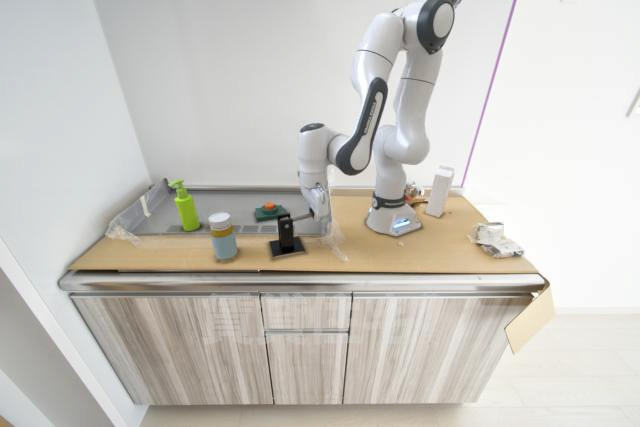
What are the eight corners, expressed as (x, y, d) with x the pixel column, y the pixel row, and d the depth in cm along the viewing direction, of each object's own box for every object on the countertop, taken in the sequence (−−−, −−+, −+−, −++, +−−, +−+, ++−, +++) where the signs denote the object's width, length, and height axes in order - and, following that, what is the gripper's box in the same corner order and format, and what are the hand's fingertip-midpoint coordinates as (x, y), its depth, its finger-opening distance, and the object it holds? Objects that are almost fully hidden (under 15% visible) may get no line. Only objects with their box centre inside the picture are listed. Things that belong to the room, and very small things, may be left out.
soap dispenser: (178, 230, 95) (163, 182, 85) (192, 222, 100) (179, 176, 91) (189, 233, 93) (175, 185, 83) (203, 225, 98) (191, 179, 89)
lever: (313, 213, 85) (313, 207, 84) (318, 220, 81) (317, 214, 80) (280, 222, 83) (279, 216, 81) (283, 229, 79) (281, 223, 77)
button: (273, 205, 107) (273, 202, 106) (275, 209, 104) (274, 205, 103) (264, 206, 106) (264, 203, 105) (265, 210, 103) (265, 207, 102)
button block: (282, 208, 112) (281, 201, 110) (285, 218, 105) (285, 209, 103) (255, 212, 109) (254, 204, 107) (257, 222, 101) (256, 213, 99)
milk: (438, 217, 107) (452, 170, 96) (424, 213, 110) (436, 166, 100) (443, 213, 111) (457, 166, 100) (429, 208, 114) (441, 163, 104)
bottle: (231, 263, 78) (223, 224, 71) (212, 260, 79) (202, 221, 72) (241, 250, 84) (235, 213, 77) (223, 248, 85) (215, 210, 78)
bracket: (298, 238, 91) (297, 208, 85) (305, 252, 83) (304, 221, 77) (269, 243, 88) (266, 213, 82) (273, 259, 80) (270, 226, 74)
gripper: (334, 189, 68) (333, 229, 75) (313, 167, 85) (314, 202, 92) (313, 192, 67) (314, 233, 73) (296, 169, 84) (298, 204, 90)
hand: (314, 215), depth 83 cm, fingers closed on lever, 5 cm apart
